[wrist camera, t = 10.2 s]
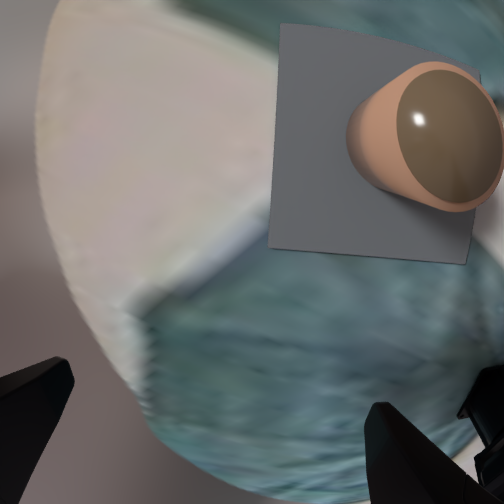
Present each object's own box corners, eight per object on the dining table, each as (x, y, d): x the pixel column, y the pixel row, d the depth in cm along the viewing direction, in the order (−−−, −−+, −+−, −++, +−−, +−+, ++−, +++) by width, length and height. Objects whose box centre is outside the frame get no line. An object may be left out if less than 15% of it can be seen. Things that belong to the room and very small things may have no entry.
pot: (431, 198, 16) (501, 222, 9) (342, 185, 16) (381, 202, 10) (436, 105, 14) (506, 86, 7) (347, 86, 15) (386, 42, 8)
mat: (462, 263, 17) (465, 264, 17) (267, 246, 18) (267, 247, 18) (476, 71, 13) (479, 70, 13) (280, 25, 14) (280, 23, 14)
